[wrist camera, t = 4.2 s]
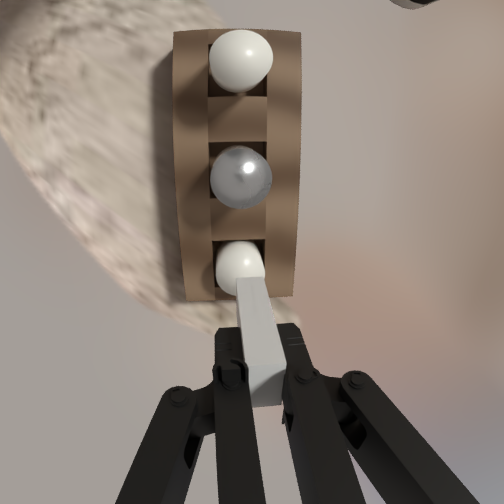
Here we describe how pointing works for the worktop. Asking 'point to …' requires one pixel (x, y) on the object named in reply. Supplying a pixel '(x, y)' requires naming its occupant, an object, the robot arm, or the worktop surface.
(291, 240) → the button panel
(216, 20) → the worktop surface
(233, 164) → the middle knob
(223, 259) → the outer button
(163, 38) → the worktop surface
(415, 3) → the supplement can
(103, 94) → the worktop surface
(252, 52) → the white round piece
